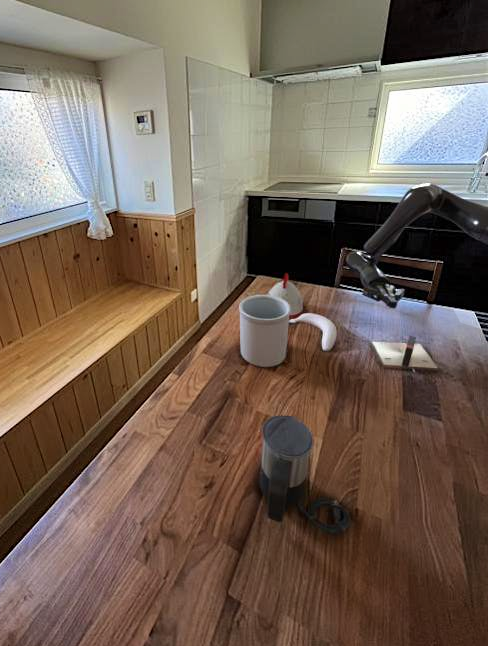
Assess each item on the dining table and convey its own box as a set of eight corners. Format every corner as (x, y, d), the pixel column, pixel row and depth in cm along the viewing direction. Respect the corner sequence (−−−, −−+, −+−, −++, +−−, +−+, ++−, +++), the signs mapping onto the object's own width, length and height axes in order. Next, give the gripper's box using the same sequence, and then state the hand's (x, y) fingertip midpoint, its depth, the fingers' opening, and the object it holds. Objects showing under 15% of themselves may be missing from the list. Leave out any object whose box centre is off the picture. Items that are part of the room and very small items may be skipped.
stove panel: (418, 349, 104) (420, 343, 103) (441, 380, 92) (443, 374, 91) (370, 346, 107) (371, 340, 106) (385, 376, 94) (387, 370, 93)
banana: (341, 354, 104) (292, 351, 106) (329, 323, 121) (287, 320, 124) (343, 341, 102) (293, 338, 104) (330, 311, 119) (288, 309, 122)
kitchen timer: (261, 315, 126) (263, 279, 120) (268, 298, 137) (270, 264, 131) (300, 322, 121) (304, 285, 115) (304, 303, 132) (308, 269, 126)
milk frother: (256, 463, 73) (259, 413, 66) (332, 468, 71) (342, 417, 65) (262, 537, 60) (267, 484, 54) (355, 546, 58) (371, 491, 52)
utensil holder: (228, 355, 106) (228, 307, 99) (256, 334, 115) (258, 289, 108) (268, 377, 96) (271, 326, 89) (295, 353, 105) (300, 304, 98)
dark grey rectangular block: (404, 351, 100) (409, 334, 98) (411, 353, 99) (416, 336, 97) (401, 364, 95) (406, 347, 93) (408, 367, 94) (413, 349, 92)
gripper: (355, 270, 117) (372, 293, 101) (397, 271, 114) (420, 295, 99) (352, 289, 120) (367, 315, 104) (392, 290, 117) (414, 317, 102)
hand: (393, 305), depth 102 cm, fingers closed
